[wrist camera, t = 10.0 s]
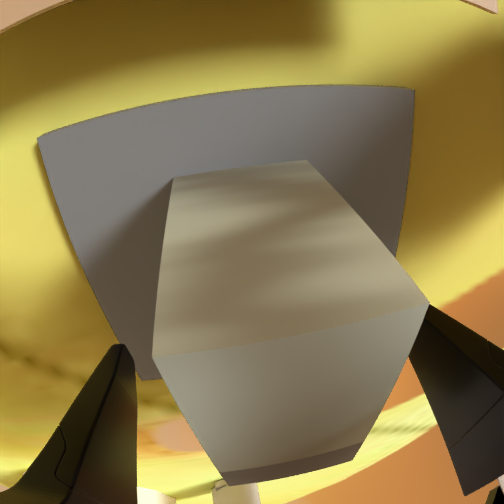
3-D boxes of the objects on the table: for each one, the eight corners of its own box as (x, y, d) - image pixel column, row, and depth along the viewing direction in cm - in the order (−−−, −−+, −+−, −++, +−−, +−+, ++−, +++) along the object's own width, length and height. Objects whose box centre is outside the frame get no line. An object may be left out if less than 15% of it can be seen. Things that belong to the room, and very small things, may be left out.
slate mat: (405, 87, 10) (414, 89, 9) (370, 331, 17) (375, 338, 17) (44, 133, 9) (36, 138, 8) (142, 371, 16) (141, 380, 16)
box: (306, 159, 10) (430, 302, 5) (303, 325, 15) (352, 460, 9) (173, 177, 10) (151, 357, 4) (211, 341, 15) (228, 486, 9)
